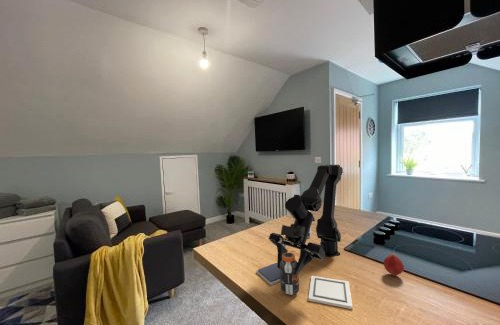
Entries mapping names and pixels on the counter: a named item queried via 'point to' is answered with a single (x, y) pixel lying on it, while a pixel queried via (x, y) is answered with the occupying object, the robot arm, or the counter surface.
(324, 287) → the board
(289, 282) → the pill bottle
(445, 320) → the counter surface
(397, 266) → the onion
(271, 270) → the ink pad
